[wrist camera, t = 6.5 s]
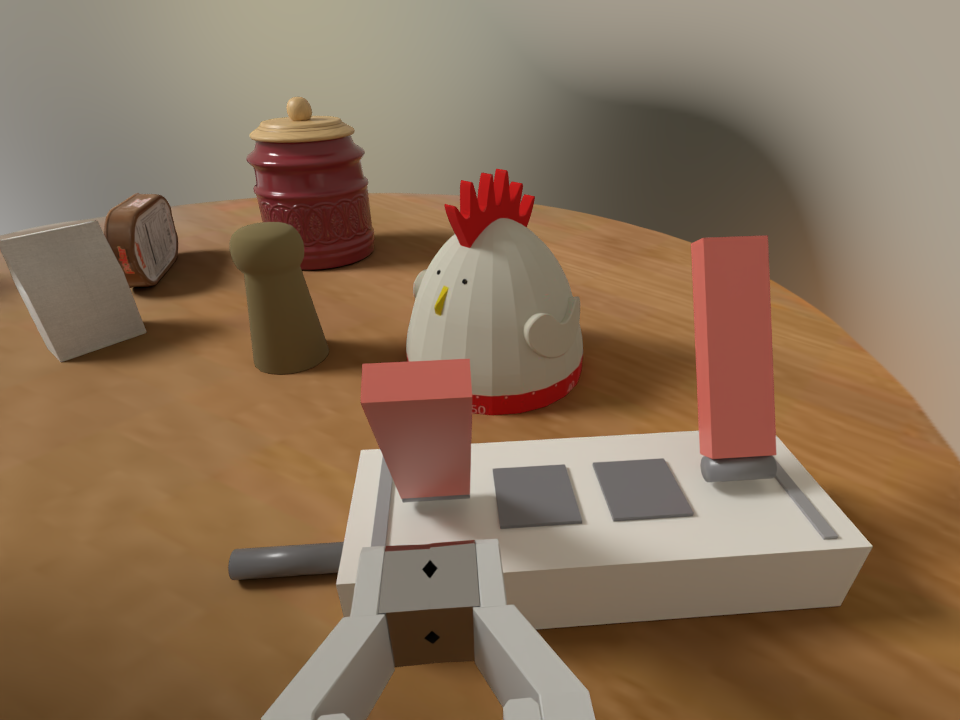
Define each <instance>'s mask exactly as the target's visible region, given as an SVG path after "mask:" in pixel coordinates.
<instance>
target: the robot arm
mask: <svg viewBox="0 0 960 720" xmlns="http://www.w3.org/2000/svg"><path fill="white" fill-rule="evenodd" d="M465 661H475V664H476V666H477V667H478V669H479V670H480V672H481V674H482V675H483V677H484V678H485V680H486V681H487V683H488V685H489V686H490V688H491V689H492V691H493V693H494V694H495V696H496V697H497V699H498V700H499V702H500V704H501V705H502V707H503V720H595V716H594V712H593V708H592V704H591V699H590V695H589V691H588V690H587V689H586V688H585V687H584V685H583V684H582V683H581V682H580V681H579V680H578V678H577V677H576V676H575V675H574V674H573V673H572V671H571V670H570V669H569V668H568V667H567V666H566V664H565V663H564V662H563V661H562V660H561V659H560V657H559V656H558V655H557V654H556V653H555V652H554V650H553V649H552V648H551V647H550V646H549V645H548V643H547V642H546V641H545V640H544V639H543V638H542V636H541V635H540V634H539V633H538V632H537V631H536V630H535V628H534V627H533V626H532V625H531V624H530V623H529V621H528V620H527V619H526V618H525V617H524V616H523V614H522V613H521V612H520V611H519V610H518V609H517V607H516V606H515V605H507V599H506V591H505V583H504V575H503V568H502V560H501V552H500V544H499V541H498V539H484V540H465V541H452V542H440V543H431V544H420V545H396V546H377V547H362V550H361V552H360V556H359V562H358V569H357V576H356V582H355V589H354V595H353V602H352V608H351V615H350V617H343V618H342V619H341V621H340V622H339V623H338V624H337V626H336V627H335V628H334V629H333V631H332V632H331V633H330V634H329V635H328V637H327V638H326V639H325V640H324V642H323V643H322V644H321V645H320V646H319V648H318V649H317V650H316V651H315V653H314V654H313V655H312V656H311V658H310V659H309V660H308V661H307V662H306V664H305V665H304V666H303V667H302V669H301V670H300V671H299V672H298V674H297V675H296V676H295V677H294V678H293V680H292V681H291V682H290V683H289V685H288V686H287V687H286V688H285V690H284V691H283V692H282V693H281V694H280V696H279V697H278V698H277V699H276V701H275V702H274V703H273V704H272V705H271V707H270V708H269V709H268V710H267V712H266V713H265V714H264V715H263V717H262V718H261V720H366V719H367V717H368V716H369V714H370V712H371V710H372V709H373V707H374V705H375V703H376V702H377V700H378V698H379V697H380V695H381V693H382V691H383V690H384V688H385V686H386V684H387V683H388V681H389V679H390V677H391V676H392V674H393V672H394V671H395V669H394V667H403V666H412V665H421V664H430V663H445V662H465Z"/></svg>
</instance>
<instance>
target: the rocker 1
mask: <svg viewBox="0 0 960 720" xmlns="http://www.w3.org/2000/svg"><path fill="white" fill-rule="evenodd" d="M361 405H362V407H363V410H364V412H365V415H366V417H367V419H368V422H369V424H370V426H371V429H372V431H373V433H374V436H375V438H376V441H377V443H378V445H379V448H380V450H381V452H382V455H383V457H384V459H385V462H386V464H387V467H388V469H389V471H390V474H391V476H392V478H393V481H394V483H395V485H396V488H397V490H398V493H399V495H400V497H401V499H402V502H403V503H405V502H421V501H437V500H453V499H468V498H470V475H471V431H472V386H471V371H470V359H451V360H431V361H410V362H390V363H370V364H362V384H361Z"/></svg>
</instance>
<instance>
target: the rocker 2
mask: <svg viewBox="0 0 960 720" xmlns="http://www.w3.org/2000/svg"><path fill="white" fill-rule="evenodd" d="M691 252H692V276H693V299H694V323H695V347H696V371H697V395H698V419H699V443H700V454H701V455H704V457H702V459H701V464H700V467H701V473H702V476H703V478H704V480H705V481H706V482H725V481H740V480H756V479H772V478H774V477H775V476H776V473H777V465H776V461H775V459H774V457H773V456H772V455H776V431H775V406H774V380H773V355H772V329H771V304H770V279H769V254H768V236H744V237H743V236H742V237H716V238H702V239H700V240H698V241H696V242H693V243H691Z"/></svg>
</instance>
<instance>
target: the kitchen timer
mask: <svg viewBox="0 0 960 720" xmlns="http://www.w3.org/2000/svg"><path fill="white" fill-rule="evenodd" d="M522 189H523V184H522V183H517V182H511V184H510V186H509V178H508V172H507V170H500V169H496V172H495V178H494V182H493V175H492V174H487V173H481V176H480V182H479V189H478V198H477V196H476V192H475V189H474V185H473V183H472V182H468V181H463V180H461V183H460V212H459V210H458V209H457V208H456V207H455V206H451V205H447V204H445V210H446V213H447V216H448V219H449V222H450V224H451V226H452V228H453V230H454V233H455V234H454V235H453V236H452V237H451V238H450V239H449V240H448V241H447V242H446V243H445V244H444V245H443V246H442V247H441V249H440V250H439V251H438V253H437V254H436V255H435V257H434V258H433V260H432V262H431V263H430V265H429V267H428V269H427V270H423V271H421V272H420V273H419V274H418V276H417V278H416V280H415V282H414V286H413V293H414V297H415V303H414V307H413V311H412V315H411V319H410V324H409V328H408V334H407V343H406V354H407V362H410V361H431V360H451V359H470V371H471V386H472V413H475V414H485V415H502V414H516V413H523V412H527V411H531V410H534V409H538V408H542V407H546V406H548V405H549V404H551V403H553V402H555V401H557V400H559V399H561V398H563V397H565V396H566V395H567V394H568V393H569V392H570V391H571V390H572V389H573V388H574V387H575V386H576V385H577V382H578V379H579V376H580V373H581V369H582V359H583V341H582V334H581V329H580V324H579V319H580V298H579V297H573V296H572V293H571V289H570V286H569V283H568V280H567V278H566V276H565V274H564V272H563V270H562V268H561V266H560V264H559V262H558V261H557V259H556V258H555V256H554V255H553V253H552V252H551V251H550V249H549V248H548V247H547V246H546V245H545V244H544V243H543V242H542V241H541V240H540V239H539V238H538V237H537V236H536V235H535V234H534V233H533V232H532V231H530V230H529V229H528V228H526V227H527V225H528V222H529V219H530V216H531V212H532V209H533V204H534V199H535V197H534V196H530V195H524V196H523V198H522V201H521V195H522ZM520 201H521V203H520Z"/></svg>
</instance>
